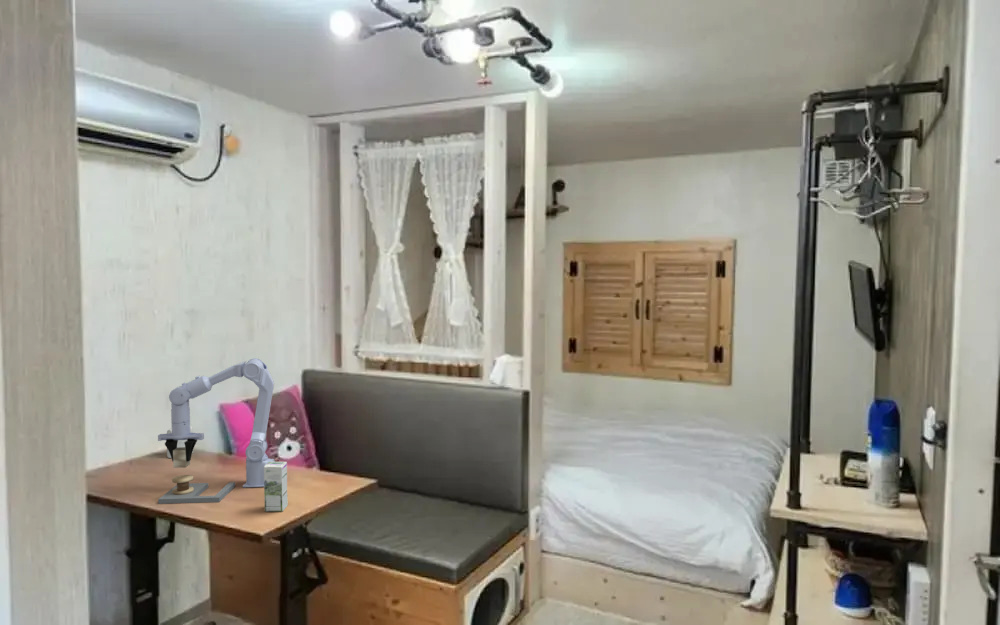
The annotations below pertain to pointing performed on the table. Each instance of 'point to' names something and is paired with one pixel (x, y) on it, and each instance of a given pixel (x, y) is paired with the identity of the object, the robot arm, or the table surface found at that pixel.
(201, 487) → the notched board
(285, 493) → the syrup box
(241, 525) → the table surface
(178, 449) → the block
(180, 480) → the spool
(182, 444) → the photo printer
